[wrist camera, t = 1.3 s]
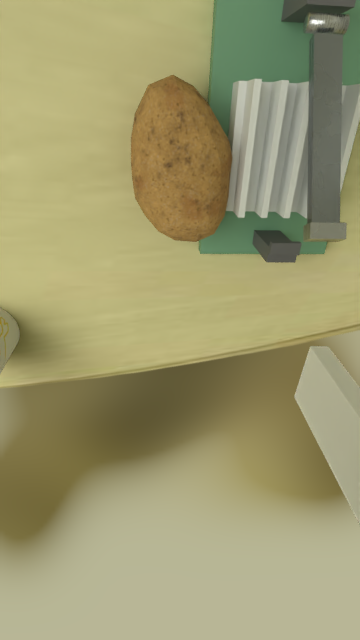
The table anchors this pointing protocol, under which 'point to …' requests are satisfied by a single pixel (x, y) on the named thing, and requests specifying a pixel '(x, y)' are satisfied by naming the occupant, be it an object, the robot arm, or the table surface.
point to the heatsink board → (272, 120)
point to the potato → (180, 161)
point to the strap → (324, 126)
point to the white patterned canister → (7, 337)
